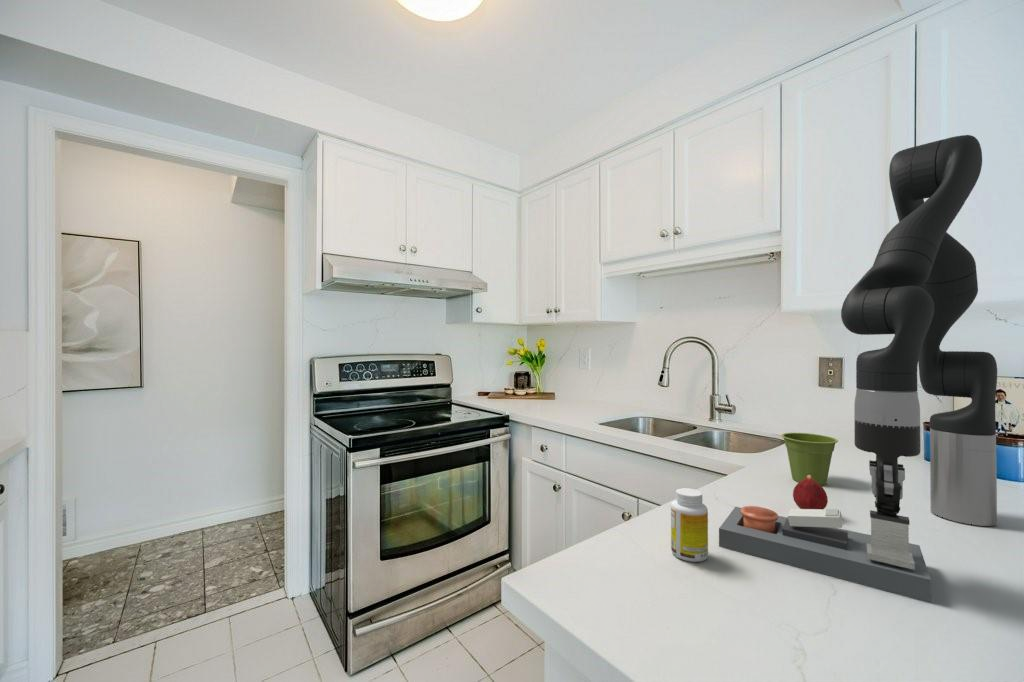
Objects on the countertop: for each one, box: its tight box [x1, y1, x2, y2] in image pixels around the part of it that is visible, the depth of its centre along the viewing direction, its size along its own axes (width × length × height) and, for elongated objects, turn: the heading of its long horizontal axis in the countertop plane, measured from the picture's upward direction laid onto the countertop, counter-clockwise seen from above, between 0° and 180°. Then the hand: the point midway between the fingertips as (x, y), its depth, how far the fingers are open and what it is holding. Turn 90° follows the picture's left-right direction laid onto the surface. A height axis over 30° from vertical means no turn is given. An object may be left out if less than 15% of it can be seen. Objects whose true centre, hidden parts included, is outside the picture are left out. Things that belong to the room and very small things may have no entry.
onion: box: [792, 475, 829, 510], centre depth 87 cm, size 6×6×8 cm
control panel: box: [718, 506, 932, 604], centre depth 71 cm, size 13×26×4 cm, turn 52°
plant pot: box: [781, 432, 839, 486], centre depth 110 cm, size 12×12×11 cm
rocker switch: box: [787, 508, 844, 529], centre depth 71 cm, size 4×7×2 cm, turn 52°
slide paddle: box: [867, 509, 915, 570], centre depth 62 cm, size 4×5×6 cm
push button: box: [740, 505, 779, 534], centre depth 76 cm, size 6×6×4 cm
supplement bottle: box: [670, 487, 709, 563], centre depth 70 cm, size 6×6×10 cm
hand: (886, 535), depth 65 cm, fingers closed
